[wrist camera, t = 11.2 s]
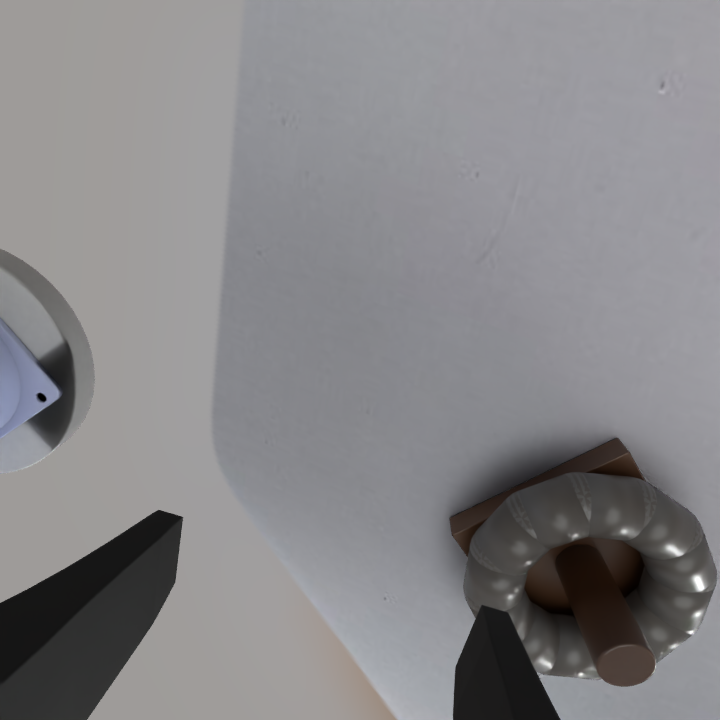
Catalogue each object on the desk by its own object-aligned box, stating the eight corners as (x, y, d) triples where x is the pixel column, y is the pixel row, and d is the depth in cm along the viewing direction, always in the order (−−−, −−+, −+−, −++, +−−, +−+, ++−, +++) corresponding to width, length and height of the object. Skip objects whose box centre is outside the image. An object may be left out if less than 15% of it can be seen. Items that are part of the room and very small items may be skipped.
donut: (450, 631, 24) (455, 678, 22) (478, 452, 21) (488, 485, 19) (659, 653, 24) (687, 703, 22) (723, 473, 20) (763, 510, 18)
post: (530, 634, 26) (569, 772, 20) (449, 517, 23) (465, 631, 18) (691, 570, 24) (787, 701, 18) (617, 437, 22) (698, 535, 16)
